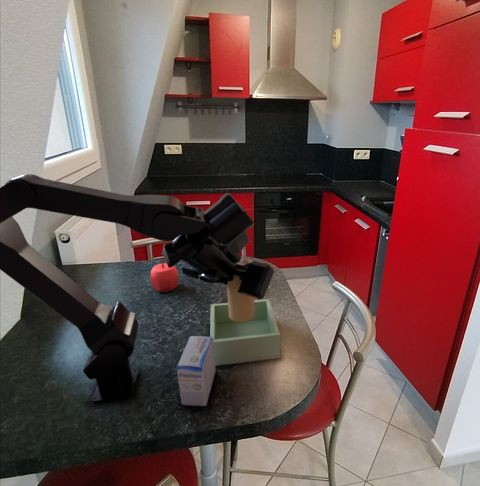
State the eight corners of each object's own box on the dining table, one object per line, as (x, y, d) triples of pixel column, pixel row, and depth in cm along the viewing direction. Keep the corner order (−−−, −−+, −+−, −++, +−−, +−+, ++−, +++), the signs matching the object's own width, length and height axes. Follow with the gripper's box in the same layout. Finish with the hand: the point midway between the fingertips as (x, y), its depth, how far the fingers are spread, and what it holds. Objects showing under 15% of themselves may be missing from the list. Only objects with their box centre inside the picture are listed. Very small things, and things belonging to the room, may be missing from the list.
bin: (279, 358, 66) (279, 334, 64) (212, 366, 63) (210, 342, 61) (269, 319, 78) (269, 298, 76) (212, 325, 76) (210, 304, 74)
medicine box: (193, 371, 62) (189, 335, 59) (216, 372, 62) (213, 335, 59) (181, 406, 55) (175, 366, 52) (207, 407, 55) (203, 366, 51)
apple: (158, 298, 87) (154, 272, 84) (147, 287, 93) (143, 262, 90) (185, 288, 92) (182, 263, 89) (173, 279, 97) (170, 254, 95)
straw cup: (256, 320, 67) (255, 253, 62) (229, 323, 66) (225, 255, 61) (253, 305, 73) (252, 242, 67) (227, 308, 72) (224, 244, 66)
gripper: (268, 223, 53) (296, 260, 66) (186, 208, 62) (225, 243, 75) (241, 285, 50) (277, 311, 63) (159, 259, 59) (205, 287, 72)
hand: (244, 284), depth 68 cm, fingers closed on straw cup, 5 cm apart
